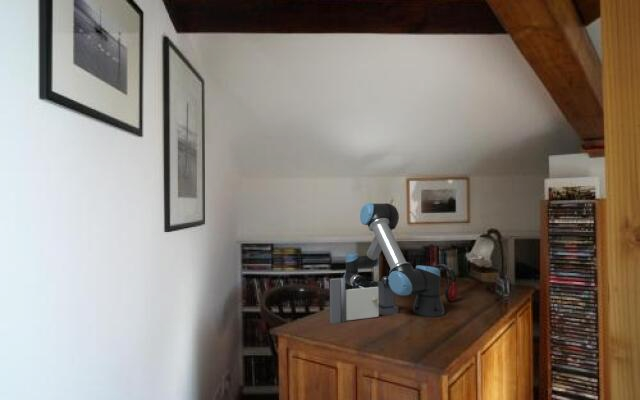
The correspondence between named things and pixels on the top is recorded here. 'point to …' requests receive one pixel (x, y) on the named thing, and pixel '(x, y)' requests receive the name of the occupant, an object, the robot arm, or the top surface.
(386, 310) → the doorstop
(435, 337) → the top surface
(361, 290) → the door
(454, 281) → the headphones
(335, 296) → the wall frame
